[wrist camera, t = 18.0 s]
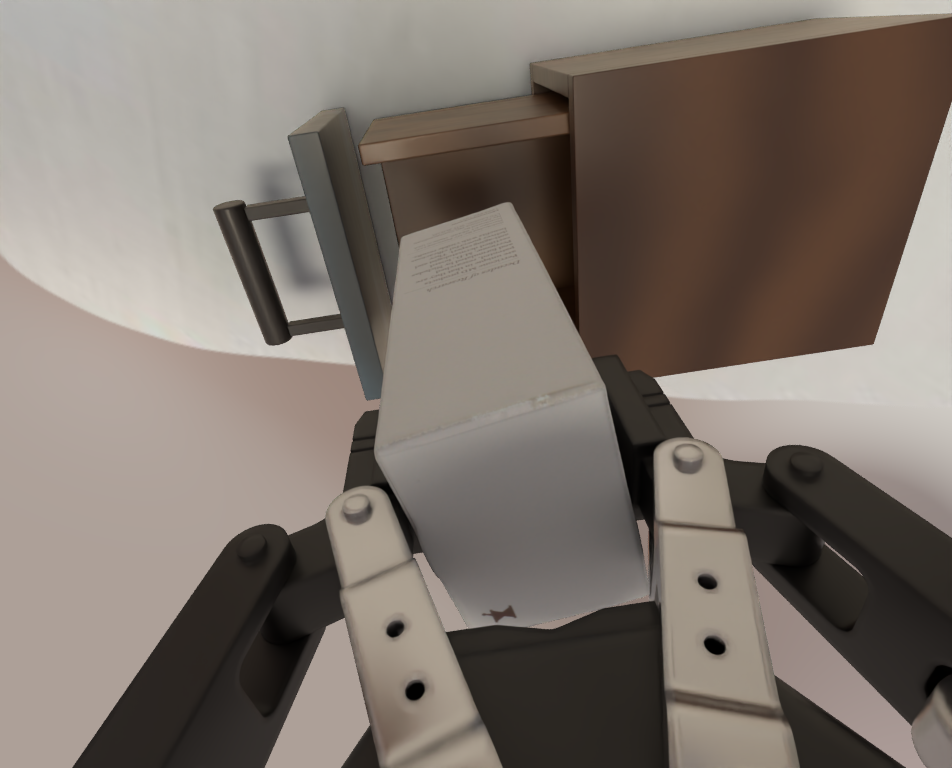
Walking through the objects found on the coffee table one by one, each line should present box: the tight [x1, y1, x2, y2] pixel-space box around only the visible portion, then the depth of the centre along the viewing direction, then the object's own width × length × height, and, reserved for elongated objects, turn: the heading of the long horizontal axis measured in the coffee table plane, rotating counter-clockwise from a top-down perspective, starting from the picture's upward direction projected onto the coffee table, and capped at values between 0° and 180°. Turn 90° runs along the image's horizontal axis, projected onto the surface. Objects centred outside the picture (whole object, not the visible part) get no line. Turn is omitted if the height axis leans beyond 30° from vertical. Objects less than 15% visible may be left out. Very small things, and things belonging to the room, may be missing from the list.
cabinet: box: [530, 13, 952, 378], centre depth 27 cm, size 15×14×10 cm
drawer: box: [213, 91, 576, 400], centre depth 27 cm, size 18×12×8 cm
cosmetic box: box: [374, 202, 649, 629], centre depth 15 cm, size 6×4×12 cm
